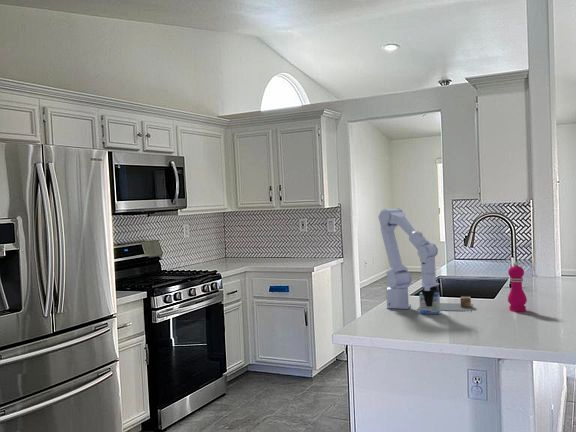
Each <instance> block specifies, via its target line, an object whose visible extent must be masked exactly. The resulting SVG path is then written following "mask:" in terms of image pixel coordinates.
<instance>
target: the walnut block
mask: <svg viewBox="0 0 576 432" xmlns="http://www.w3.org/2000/svg"><path fill="white" fill-rule="evenodd" d="M471 299H472V298H471V296H460V304H461V307H462V308H471V304H472V300H471Z"/></svg>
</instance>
